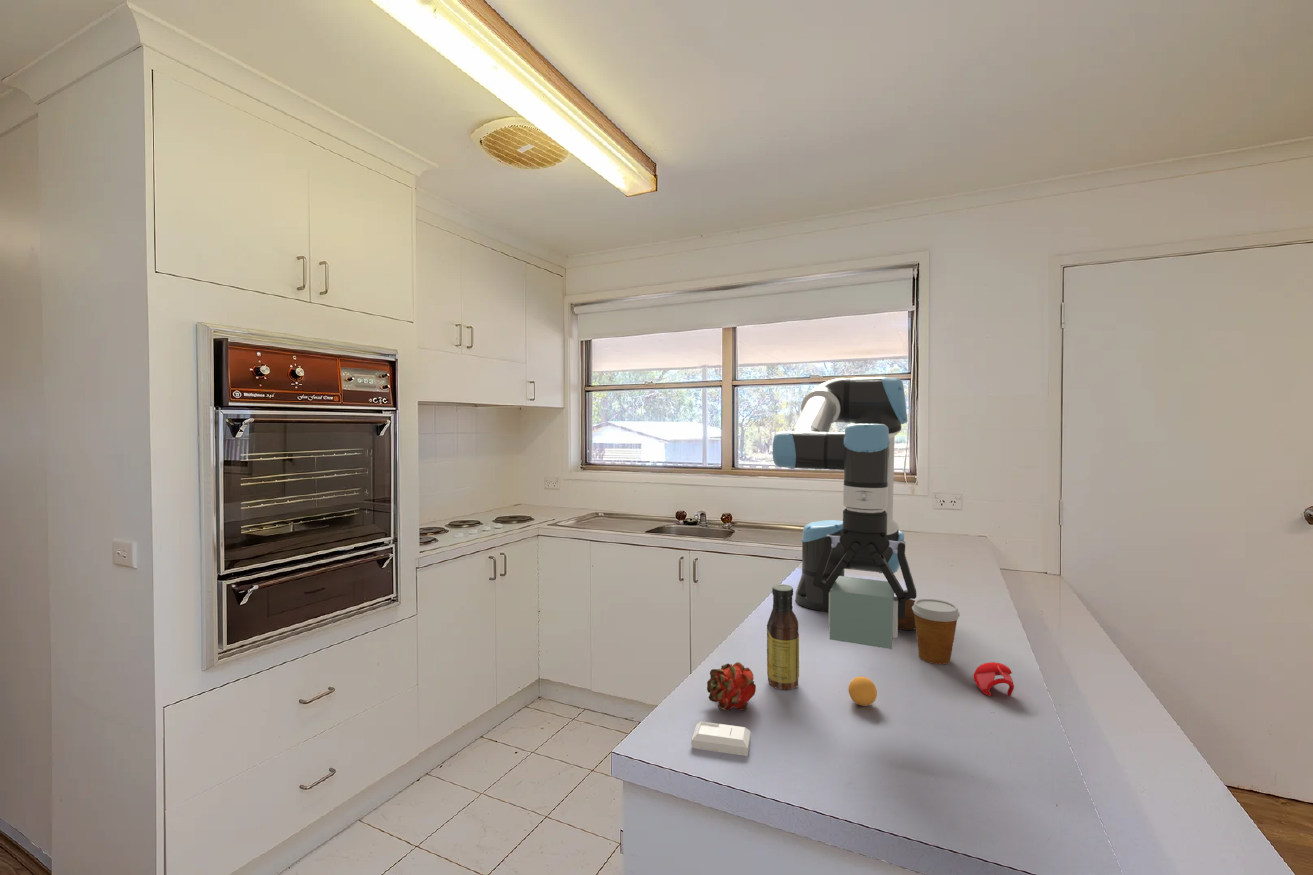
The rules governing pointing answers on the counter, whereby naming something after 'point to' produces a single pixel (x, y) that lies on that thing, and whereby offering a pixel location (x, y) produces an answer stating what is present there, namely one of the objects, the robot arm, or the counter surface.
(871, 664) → the counter surface
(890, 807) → the counter surface
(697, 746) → the soap bar
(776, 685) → the sauce bottle
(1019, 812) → the counter surface
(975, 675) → the red curved piece
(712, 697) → the dragon fruit
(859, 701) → the ball
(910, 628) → the potato
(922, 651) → the disposable coffee cup
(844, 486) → the robot arm
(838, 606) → the sage green cube
